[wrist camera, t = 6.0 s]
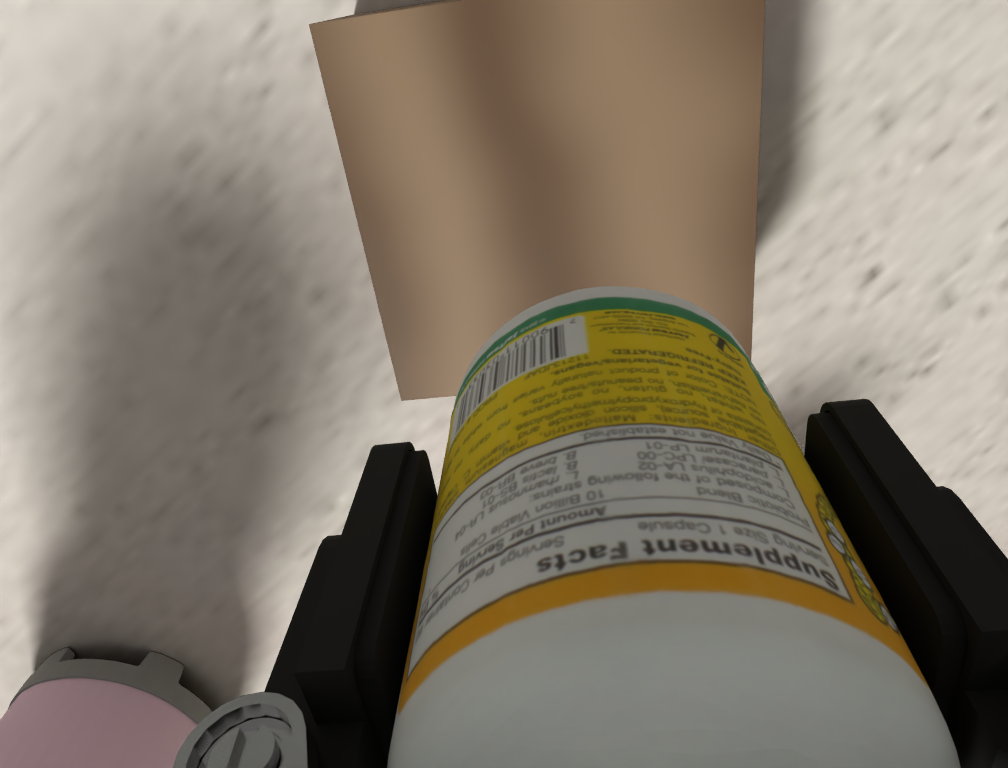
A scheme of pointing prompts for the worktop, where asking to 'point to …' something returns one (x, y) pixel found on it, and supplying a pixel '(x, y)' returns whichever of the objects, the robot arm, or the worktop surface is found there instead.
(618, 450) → the supplement bottle
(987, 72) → the worktop surface
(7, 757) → the blender
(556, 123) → the brown cardboard box
